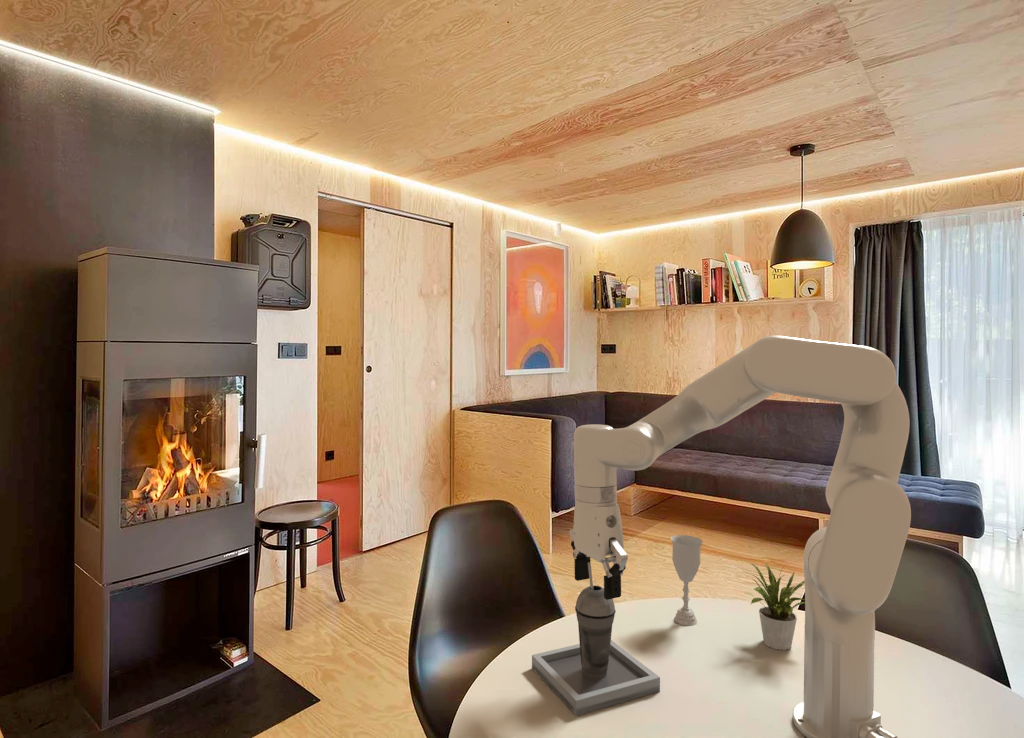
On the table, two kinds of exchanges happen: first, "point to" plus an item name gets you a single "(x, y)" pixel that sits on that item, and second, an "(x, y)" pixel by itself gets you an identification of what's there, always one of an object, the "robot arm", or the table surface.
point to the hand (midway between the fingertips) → (597, 588)
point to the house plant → (777, 611)
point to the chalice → (686, 571)
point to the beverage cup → (594, 629)
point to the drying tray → (593, 694)
